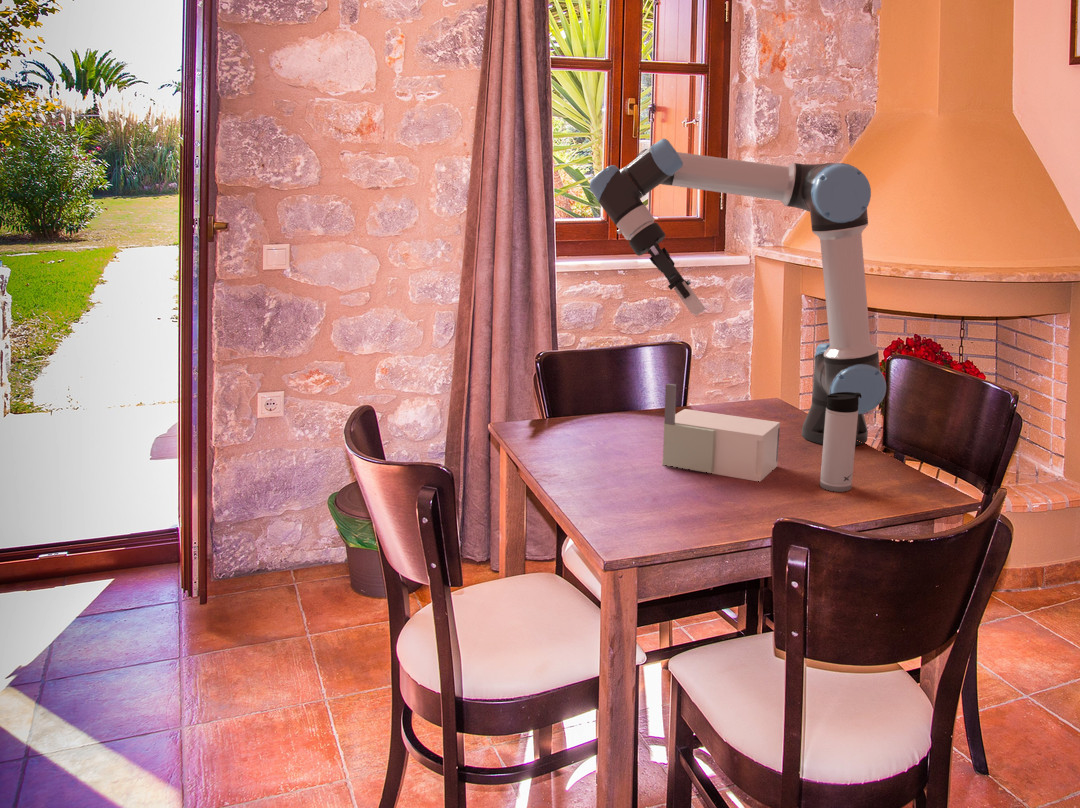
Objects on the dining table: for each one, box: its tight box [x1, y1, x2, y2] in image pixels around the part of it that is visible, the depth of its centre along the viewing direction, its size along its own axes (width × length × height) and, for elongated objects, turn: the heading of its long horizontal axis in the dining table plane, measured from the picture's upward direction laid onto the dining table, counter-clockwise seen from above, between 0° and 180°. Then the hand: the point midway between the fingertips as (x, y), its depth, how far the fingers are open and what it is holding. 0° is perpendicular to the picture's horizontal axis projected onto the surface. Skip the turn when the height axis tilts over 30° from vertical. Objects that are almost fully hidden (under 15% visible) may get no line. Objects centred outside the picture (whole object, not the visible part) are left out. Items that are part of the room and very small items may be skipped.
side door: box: [662, 383, 715, 474], centre depth 212 cm, size 11×1×18 cm, turn 61°
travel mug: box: [819, 392, 861, 493], centre depth 202 cm, size 6×7×20 cm
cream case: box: [661, 408, 781, 483], centre depth 217 cm, size 22×12×10 cm, turn 61°
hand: (699, 311), depth 214 cm, fingers open, 13 cm apart
